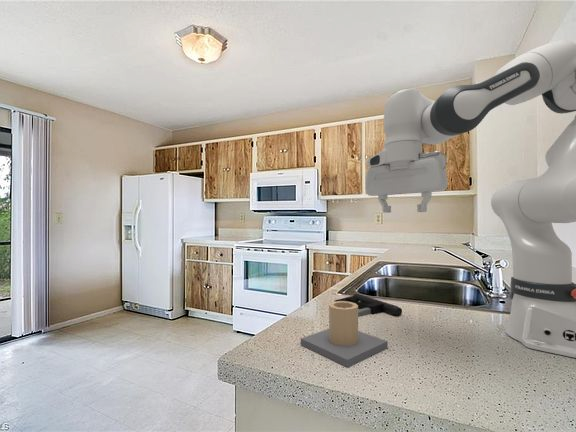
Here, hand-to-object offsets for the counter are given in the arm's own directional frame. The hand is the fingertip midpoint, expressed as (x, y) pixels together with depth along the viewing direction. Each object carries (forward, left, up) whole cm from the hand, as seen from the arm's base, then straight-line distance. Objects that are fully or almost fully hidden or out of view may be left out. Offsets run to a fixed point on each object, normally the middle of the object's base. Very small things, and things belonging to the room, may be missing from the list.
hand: (403, 212), depth 76 cm
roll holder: (+6, +16, -31) cm, 35 cm away
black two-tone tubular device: (+20, -9, -32) cm, 39 cm away
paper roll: (+6, +16, -29) cm, 34 cm away
